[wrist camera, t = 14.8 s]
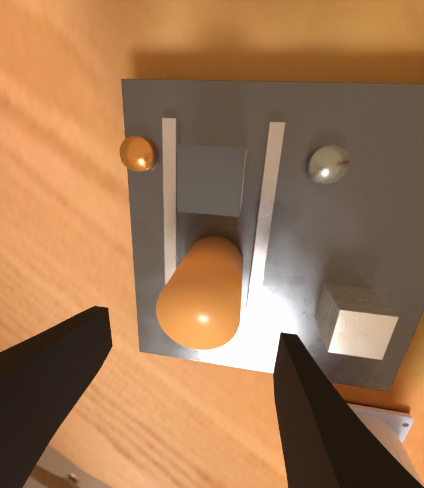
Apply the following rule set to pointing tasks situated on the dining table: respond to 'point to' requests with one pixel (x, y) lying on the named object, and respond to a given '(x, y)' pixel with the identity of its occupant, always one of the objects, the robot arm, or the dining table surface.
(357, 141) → the panel
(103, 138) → the dining table surface
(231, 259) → the cap
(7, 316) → the dining table surface
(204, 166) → the lever
